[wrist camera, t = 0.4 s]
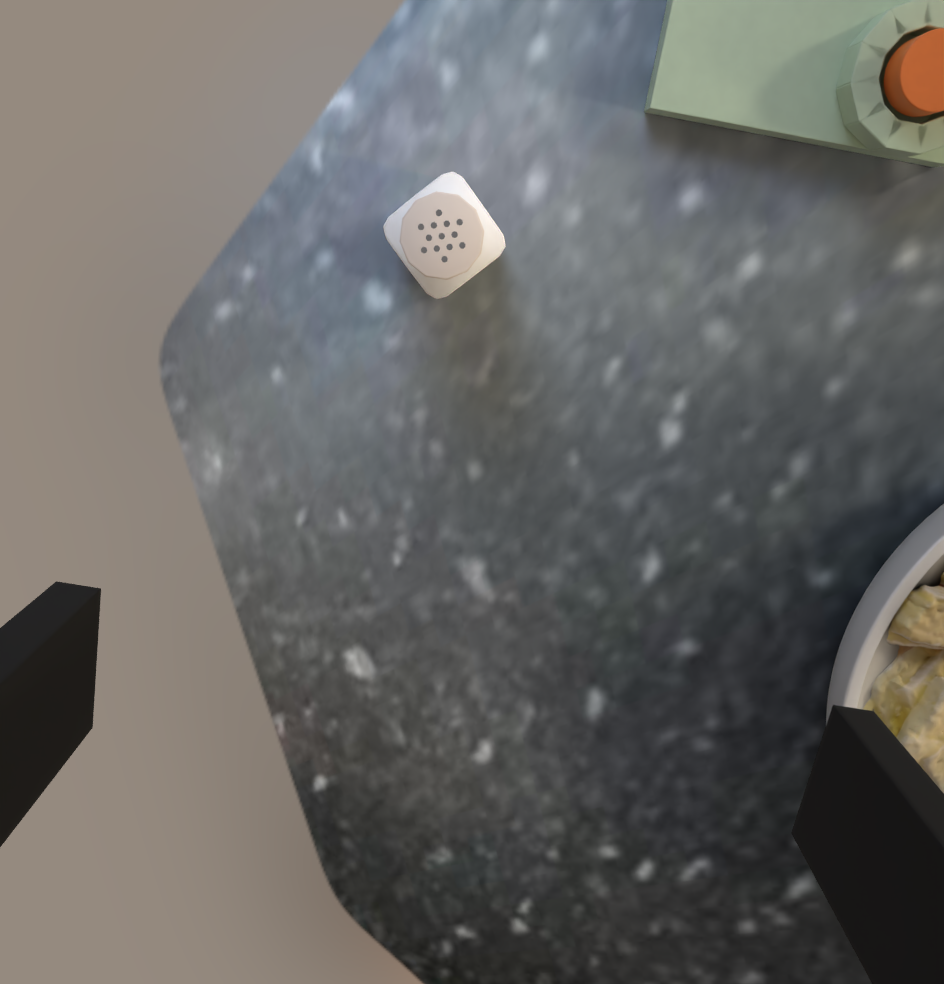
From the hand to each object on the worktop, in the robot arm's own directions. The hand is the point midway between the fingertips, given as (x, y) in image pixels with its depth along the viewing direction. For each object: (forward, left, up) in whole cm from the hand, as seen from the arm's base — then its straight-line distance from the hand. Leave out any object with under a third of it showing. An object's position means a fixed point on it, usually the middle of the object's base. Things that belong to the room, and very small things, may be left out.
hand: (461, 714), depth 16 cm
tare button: (-18, +17, -27) cm, 37 cm away
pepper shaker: (-8, -2, -30) cm, 31 cm away
